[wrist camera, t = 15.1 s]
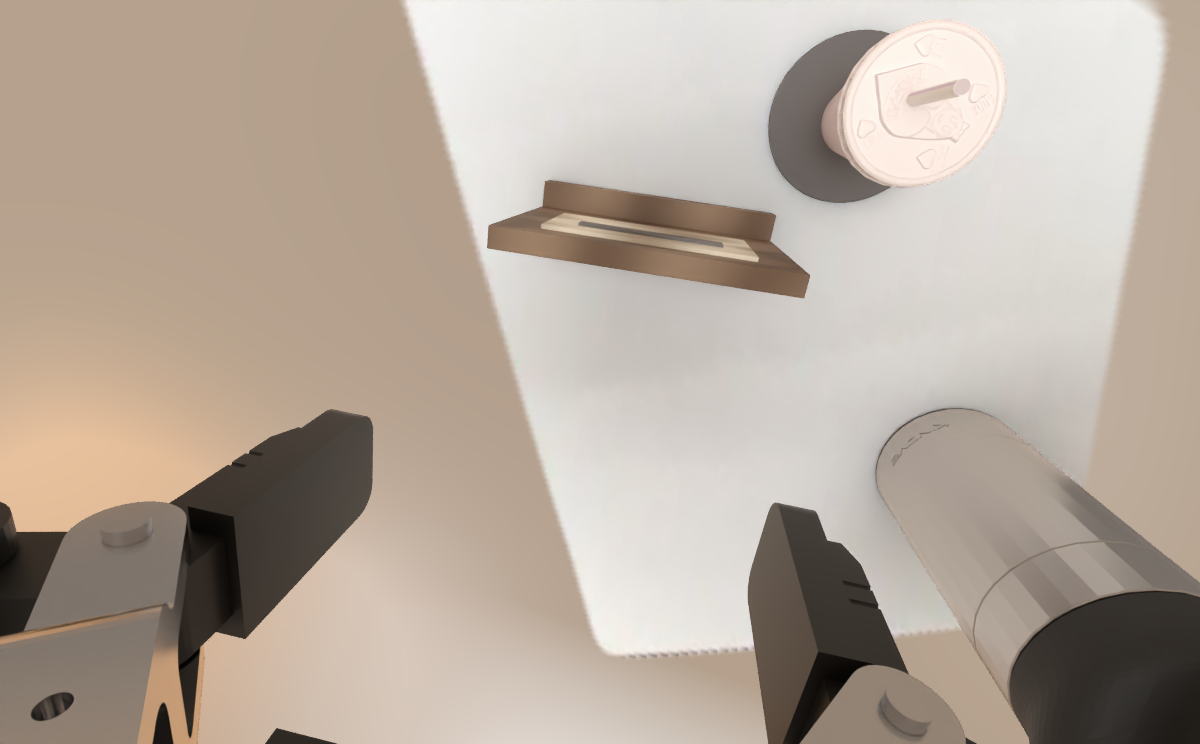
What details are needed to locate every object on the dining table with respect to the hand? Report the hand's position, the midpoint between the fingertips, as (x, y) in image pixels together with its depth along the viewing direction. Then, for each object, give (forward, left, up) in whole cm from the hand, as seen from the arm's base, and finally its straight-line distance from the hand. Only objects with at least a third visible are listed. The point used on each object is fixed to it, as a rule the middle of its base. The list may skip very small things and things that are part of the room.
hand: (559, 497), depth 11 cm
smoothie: (-3, -14, -28) cm, 31 cm away
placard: (+1, -2, -28) cm, 28 cm away
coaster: (-3, -14, -28) cm, 31 cm away
